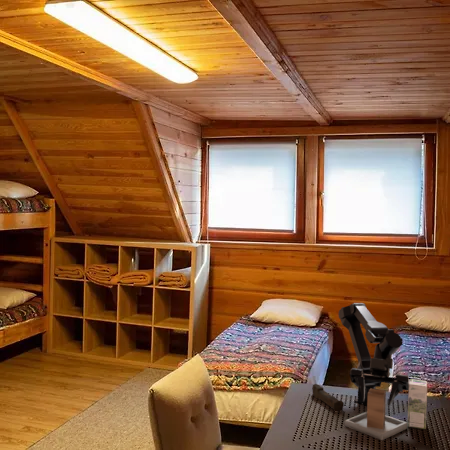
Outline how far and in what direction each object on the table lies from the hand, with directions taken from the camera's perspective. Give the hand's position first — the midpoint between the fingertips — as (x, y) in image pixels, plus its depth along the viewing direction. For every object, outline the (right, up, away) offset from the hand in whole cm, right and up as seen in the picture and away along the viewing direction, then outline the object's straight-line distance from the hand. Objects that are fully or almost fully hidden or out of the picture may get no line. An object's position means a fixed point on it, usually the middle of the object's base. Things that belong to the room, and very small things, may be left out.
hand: (375, 402), depth 184 cm
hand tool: (-13, -8, +24) cm, 28 cm away
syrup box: (+14, -9, +4) cm, 17 cm away
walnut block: (0, -8, +2) cm, 8 cm away
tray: (0, -9, +2) cm, 9 cm away
